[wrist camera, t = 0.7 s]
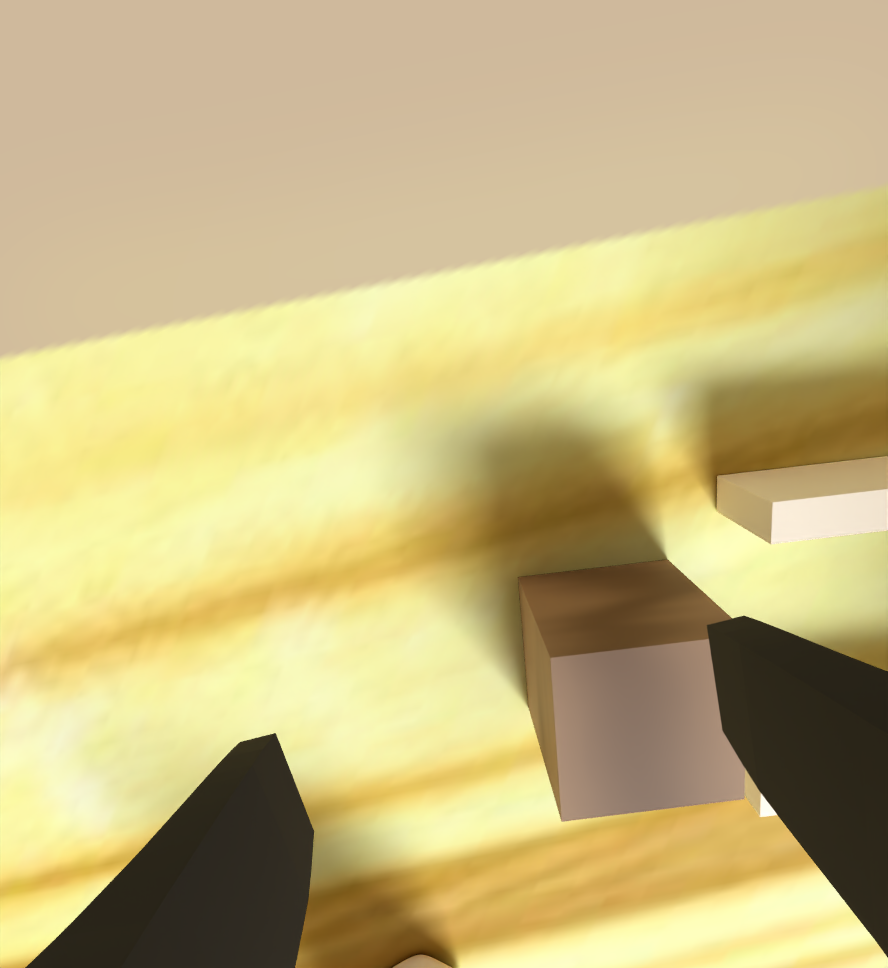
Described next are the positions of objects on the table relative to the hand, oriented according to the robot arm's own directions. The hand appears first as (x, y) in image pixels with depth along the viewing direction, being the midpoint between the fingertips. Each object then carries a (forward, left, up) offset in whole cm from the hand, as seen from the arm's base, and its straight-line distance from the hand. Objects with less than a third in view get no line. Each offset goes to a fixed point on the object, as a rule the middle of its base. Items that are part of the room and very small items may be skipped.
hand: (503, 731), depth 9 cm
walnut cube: (-4, +4, -10) cm, 11 cm away
